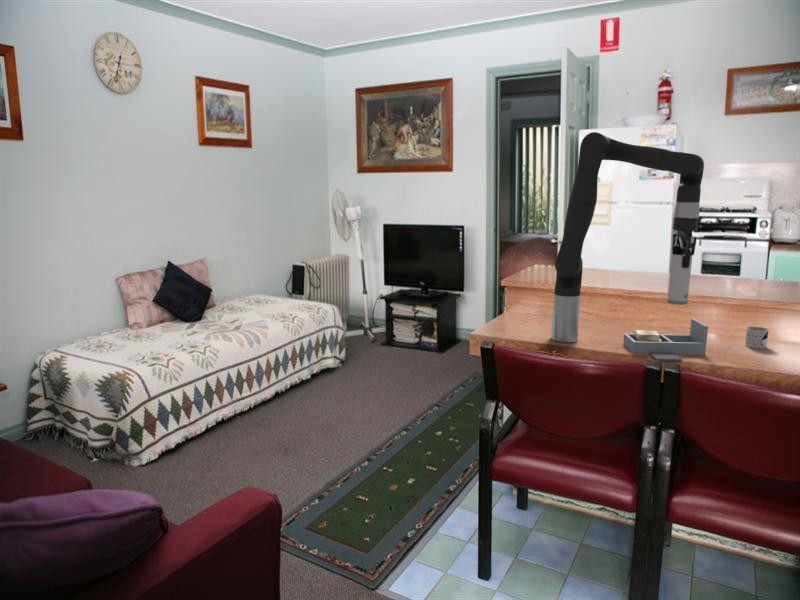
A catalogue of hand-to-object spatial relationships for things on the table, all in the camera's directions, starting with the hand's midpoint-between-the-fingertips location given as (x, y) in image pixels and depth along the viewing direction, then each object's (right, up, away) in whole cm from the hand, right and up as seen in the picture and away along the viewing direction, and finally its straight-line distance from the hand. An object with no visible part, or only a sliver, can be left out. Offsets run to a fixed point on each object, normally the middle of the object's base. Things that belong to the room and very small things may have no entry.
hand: (681, 266), depth 204 cm
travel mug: (0, -13, +3) cm, 13 cm away
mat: (-6, -31, -1) cm, 31 cm away
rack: (-2, -29, +10) cm, 31 cm away
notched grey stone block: (+34, -28, +15) cm, 46 cm away
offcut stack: (-7, -29, +11) cm, 32 cm away
